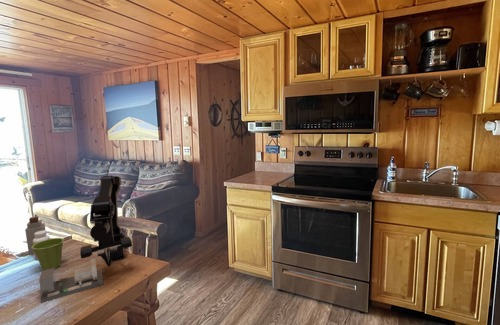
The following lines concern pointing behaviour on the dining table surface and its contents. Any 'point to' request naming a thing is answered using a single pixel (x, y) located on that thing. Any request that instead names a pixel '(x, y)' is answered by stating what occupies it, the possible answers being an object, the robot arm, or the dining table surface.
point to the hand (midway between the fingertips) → (109, 266)
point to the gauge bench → (64, 285)
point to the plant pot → (49, 252)
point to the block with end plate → (86, 273)
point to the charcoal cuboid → (60, 287)
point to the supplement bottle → (39, 239)
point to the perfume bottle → (32, 228)
